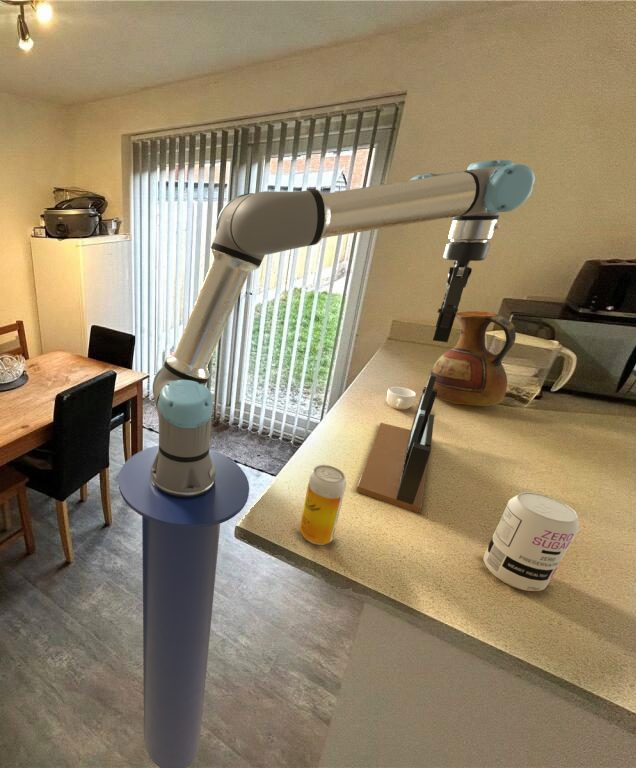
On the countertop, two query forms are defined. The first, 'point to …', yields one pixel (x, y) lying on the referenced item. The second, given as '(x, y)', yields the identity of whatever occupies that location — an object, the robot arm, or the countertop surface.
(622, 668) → the countertop surface
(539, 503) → the supplement can
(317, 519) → the yellow drink can
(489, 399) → the ceramic pitcher
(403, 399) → the teacup
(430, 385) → the black slab
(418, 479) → the brown base with upright
